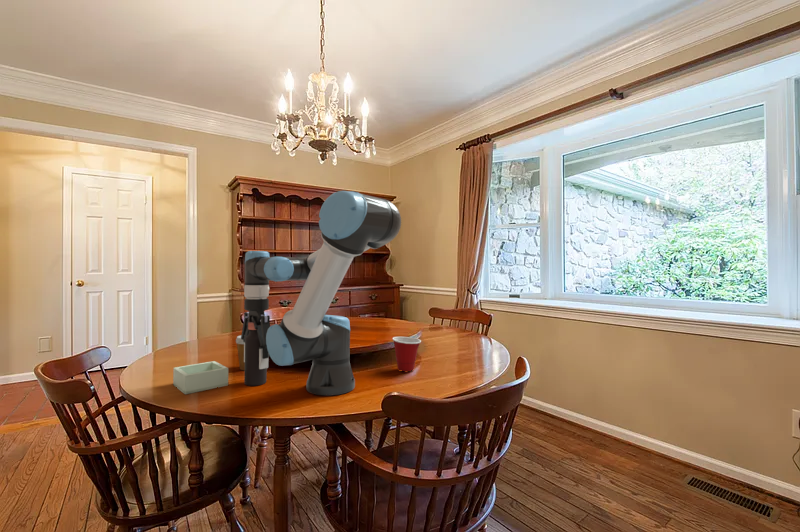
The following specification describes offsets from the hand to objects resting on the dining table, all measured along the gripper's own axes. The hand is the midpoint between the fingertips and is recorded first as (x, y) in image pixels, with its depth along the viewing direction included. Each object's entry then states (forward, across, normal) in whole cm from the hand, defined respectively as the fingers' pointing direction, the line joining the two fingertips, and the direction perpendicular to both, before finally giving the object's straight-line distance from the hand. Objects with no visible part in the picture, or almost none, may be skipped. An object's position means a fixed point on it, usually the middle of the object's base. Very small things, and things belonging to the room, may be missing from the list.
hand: (255, 364), depth 120 cm
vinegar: (+6, 0, 0) cm, 6 cm away
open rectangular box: (+6, +10, +14) cm, 18 cm away
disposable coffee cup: (+6, +19, -6) cm, 21 cm away
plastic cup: (+6, -24, -47) cm, 53 cm away
